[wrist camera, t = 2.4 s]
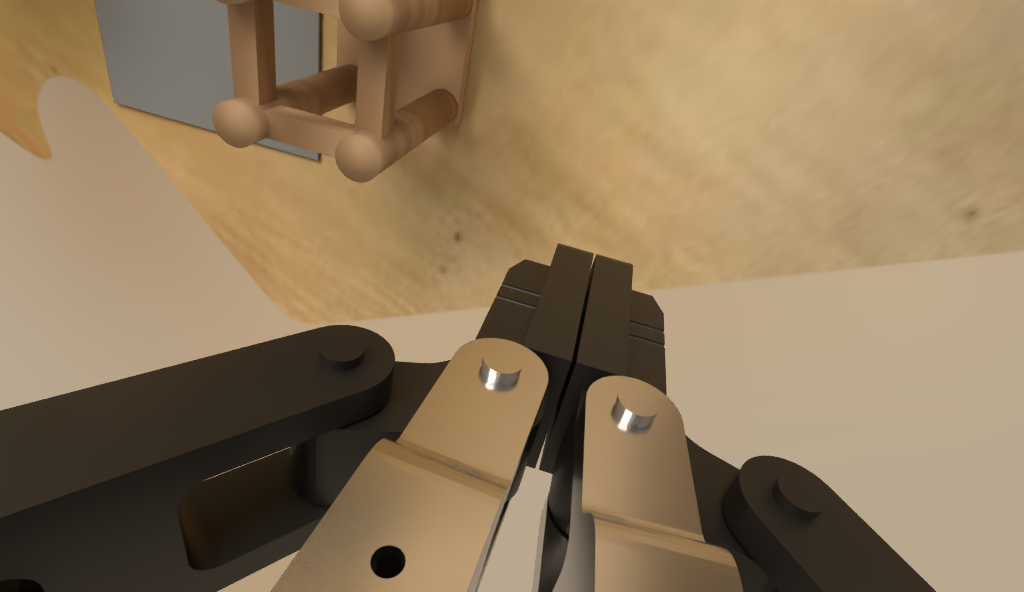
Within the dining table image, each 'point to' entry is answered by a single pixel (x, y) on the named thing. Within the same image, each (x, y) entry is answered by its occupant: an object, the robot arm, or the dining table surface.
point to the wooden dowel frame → (352, 80)
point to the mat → (194, 56)
